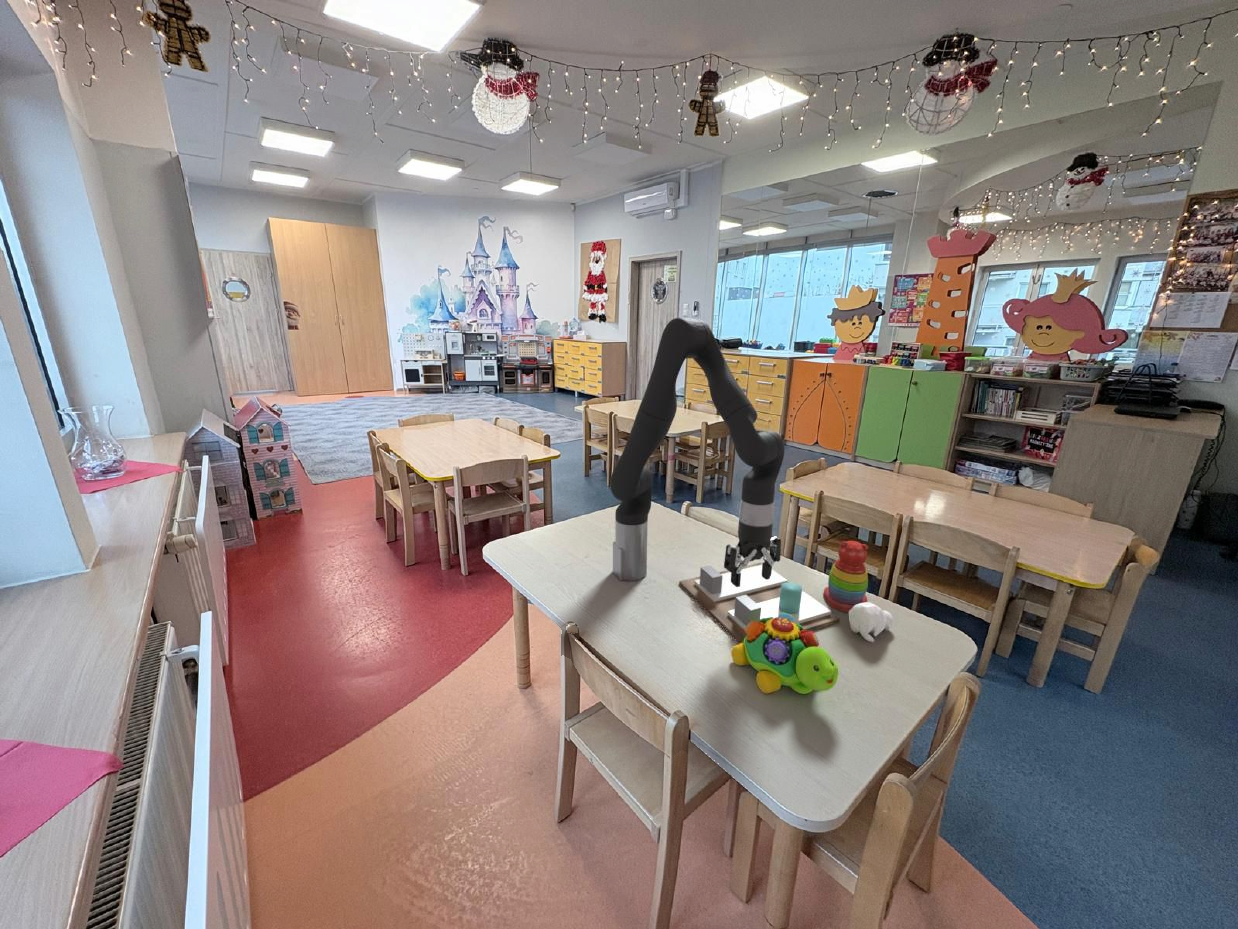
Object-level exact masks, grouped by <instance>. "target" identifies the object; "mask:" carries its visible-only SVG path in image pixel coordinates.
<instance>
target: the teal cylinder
mask: <svg viewBox="0 0 1238 929" xmlns="http://www.w3.org/2000/svg"><path fill="white" fill-rule="evenodd" d="M802 591H803V588H802V586H801V585H799V583H795V582H788V581H787V582H785V583H783V584H782V585H781V591H780V600H779V609H780V610H781V611H782V612H784V613H787V614H797V613H798V612H799V611H800V603H801V595H802Z"/></svg>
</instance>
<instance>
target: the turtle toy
mask: <svg viewBox="0 0 1238 929" xmlns="http://www.w3.org/2000/svg"><path fill="white" fill-rule="evenodd" d="M745 632H746V634H747V636H746V638H745V639H744V643H740V644H739V643H738V644H735V645H734V646H732V649H731V652H730V653H731V654H730V655H731V658H732V660H733V662H734V663H735V664H736V665H737V666H740V667H742V666H746V665H751V667H752V668H754V669H755V671H757V675H756V678H755V679H756V684H757V687H758V688H759V689H760V690H761V692H763V693H764V694H770V693H773V692H776V691H779V690H780V689H781V686H787V687H790V689H792V690H793V691H795V692H796V693H799V694H802V695H805V694H809V693H811V692H813V691H818V692H820V691H821V692H823V691H824V692H825V691H829V690H831V689H833V687H834V686H836V684H837V681H838V677H839V667H838V665H837V663H836V662H835V660H834V659H833V658H832V657H831V655H830V654H829V653H828V652H827V651H826V650H825V649H823V648H822V647H819V646H820V641H819V638H818V637H817V635H816V633H815V632H814V631H808V632H806V630H804V628H803V627H802V626H801V625H799V624H797V623H794V618H793V616H791V615H790V614H787V613H780V614H779V616H778V617H775V618H773V617H768V618H762V619H760V620H759V621H758V622H756V621H751V622H750V623H748V625H747V626H746V628H745Z"/></svg>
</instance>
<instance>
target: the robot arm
mask: <svg viewBox="0 0 1238 929" xmlns="http://www.w3.org/2000/svg"><path fill="white" fill-rule="evenodd" d="M687 359H692V360H694V361H695V362H696V364H697V365H698V366H699V367H700V369H701V370H702V371H703V373H704V375H705V376H706V380H707V383H708V387H709V392H710V393H709V394H710V399H711V401H712V404H713V406H714V407H715V409H716V411H717V413H718V414H719V415H720V417H721V419H722V420H723V422H724V424H725V425H726V426H727V428H728V430H729V434H730V437H731V441H732V443H733V447H734V449H735V452H736V454H737V456H738V457H739V459H740V460H741V461H742V462H743V464H745V465H747V466H748V467H751V470H750V471H749V472H748V473H747V474H745V475H744V477H743V478H742V486H741V487H742V488H741V499H740V500H741V501H740V504H739V511H738V512H739V514H738V528H737V529H738V530H737V535H738V543H737V545H731V544H729V543H728V544H726V546H725V552H724V553H725V554H724V562H723V568H724V569H725V570H728V571H729V572H731V583H732V584H733V585H734V586H736V587H740V580H741V573H740V572H741V570H742V569H743V567H744V566H748V564H749V563H750V562H753V561H755V560H756V561H758V560H761V559H762V561H763V562H761V563H762V577H763V578H764V579H766V580H768V579H770V576H771V572H772V570H773V566H774V564H775V562H777V563H779V562H780V561H781V554H782V552H781V550H782V539H780V538H779V537H777V536H775V535H774V534H773V527H774V525H773V524H774V518H775V517H774V516H775V507H774V506H775V505H774V501H775V492H776V491H775V490H776V482H777V479H778V477H779V474H780V471H781V469H782V464H783V461H784V456H785V443H784V440H783V437H782V436H781V435H780V434H779V433H778V432H776V431H774V430H770V429H768V430H763V431H760V432H758V431H757V429H756V427H755V425H754V423H755V422H756V421H757V419H758V412H757V410H756V409H755V407H754V405H753V404H752V403H751V401H750V399H749V398H748V397H747V395H746V394H745V392H744V390H743V389H742V388H741V386H740V385H739V383H738V382H737V380H736V378H735V376H734V375H733V373H732V371H731V369H730V367H729V364H728V362H727V360H726V359H725V357H724V355H723V353H722V351H721V349H720V346H719V344H718V341H717V339H716V337H715V335H714V332H713V331H712V329H711V327H710V325H708V323H707V322H706V321H704V320H702V319H699V318H694V317H693V318H689V317H675V318H672V319H671V320H670V321H668V322H667V324H666V325H665V327H664V329H663V332H662V334H661V337H660V340H659V344H658V348H657V352H656V355H655V360H654V364H653V367H652V371H651V374H650V377H649V380H648V384H647V386H646V389H645V392H644V394H643V397H642V400H641V402H640V404H639V407H638V410H637V413H636V415H635V418H634V421H633V424H632V427H631V429H630V432H629V435H628V438H627V440H626V443H625V446H624V449H623V450H622V453H621V455H620V457H619V459H618V461H617V463H616V465H615V467H614V469H613V472H612V473H611V476H610V480H609V489H610V492H611V494H612V495H613V497H614V498H615V499H616V500H617V501H621V502H620V504H619V505H618V506H617V508H616V509H615V514H614V515H615V523H614V524H615V527H614V528H615V534H614V535H615V538H614V540H615V541H613V542H612V572H613V573H614V574H615V576H616V577H617V578H618V579H619V581H638V580H642V579H643V578H645V577H646V575H647V573H648V572H647V571H648V569H647V568H648V565H647V564H648V529H649V527H648V525H649V524H648V522H649V520H648V519H649V513H650V511H651V508H652V498H653V477H652V473H651V471H650V469H649V467H647V465H646V464H647V462H648V460H650V459H651V457H652V455H653V454H654V452H655V451H656V450H657V449H658V448H659V446H660V445H661V444H662V442H663V440H664V439H665V438H666V436H667V435H668V433H669V431H670V429H671V427H672V425H673V421H674V419H675V416H676V412H677V409H678V408H677V407H678V400H677V389H676V387H677V380H678V377H679V374H680V372H681V368H682V366H683V365H684V362H685V360H687ZM768 549H769V552H768ZM742 558H743V559H742Z"/></svg>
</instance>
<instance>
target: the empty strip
mask: <svg viewBox="0 0 1238 929" xmlns="http://www.w3.org/2000/svg"><path fill="white" fill-rule="evenodd" d="M719 572H720V571H719ZM719 572H718V570H716V569H715V568H714V567H713V566H712V565H711V564H709V565H705V566H700V573H699V577H700V579H698V580H694V584H695V585H696V586H697V587H698V588H699V589H701V590H702V591H703V592H704V593H705V594H706V595H707V596H708V597H709V598H710V599H711V600H712V601H713V602H717V601H721V600H725V599H728V598H732V597H736V596H740V595H744V594H748V593H752V592H756V591H760V590H764V589H768V588H772V587H776V586H779V585H782V584H783V583H785V582H788V579H786V578H785V577H783V576H782V575H781V574H779V573H778V572H776V571H775V570H774V569H772V572H771V576H770V579H768V580H766V579H764V578H763V577H762V565H759V566H754V567H750V568H746V569H742V570H741V572H740V573H741V580H740V587H736V586H734V585H733V584H732V583H731V572H728V573H724V574H720V573H719Z"/></svg>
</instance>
